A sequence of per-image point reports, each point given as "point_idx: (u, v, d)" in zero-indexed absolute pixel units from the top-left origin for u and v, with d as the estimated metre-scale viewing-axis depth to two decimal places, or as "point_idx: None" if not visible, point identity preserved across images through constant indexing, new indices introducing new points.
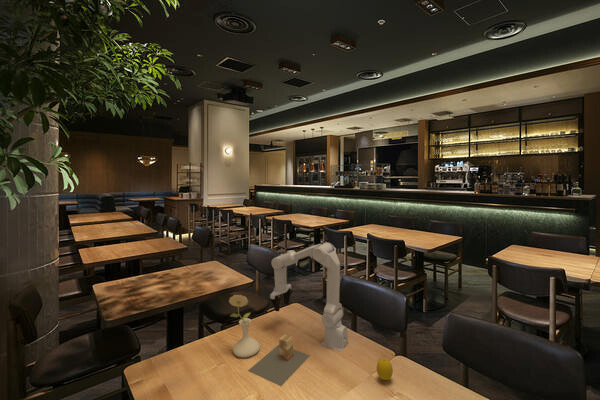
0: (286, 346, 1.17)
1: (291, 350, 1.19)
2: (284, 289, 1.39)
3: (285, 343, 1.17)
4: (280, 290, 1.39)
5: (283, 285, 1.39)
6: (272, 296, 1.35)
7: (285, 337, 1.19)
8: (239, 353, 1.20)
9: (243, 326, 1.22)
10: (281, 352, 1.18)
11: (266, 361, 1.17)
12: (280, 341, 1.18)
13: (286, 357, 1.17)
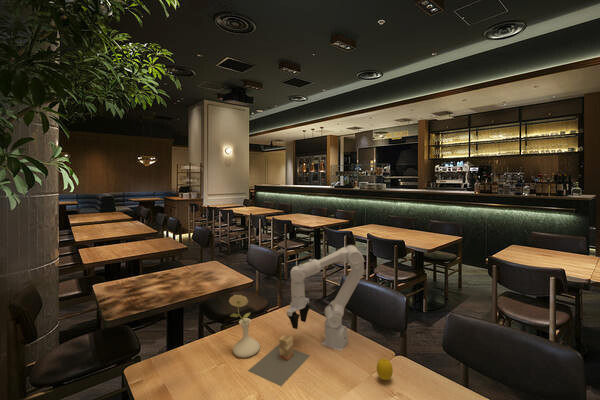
0: (286, 346, 1.17)
1: (291, 350, 1.19)
2: (302, 304, 1.24)
3: (285, 343, 1.17)
4: (298, 306, 1.23)
5: (301, 300, 1.24)
6: (289, 313, 1.20)
7: (285, 337, 1.19)
8: (239, 353, 1.20)
9: (243, 326, 1.22)
10: (281, 352, 1.18)
11: (266, 361, 1.17)
12: (280, 341, 1.18)
13: (286, 357, 1.17)
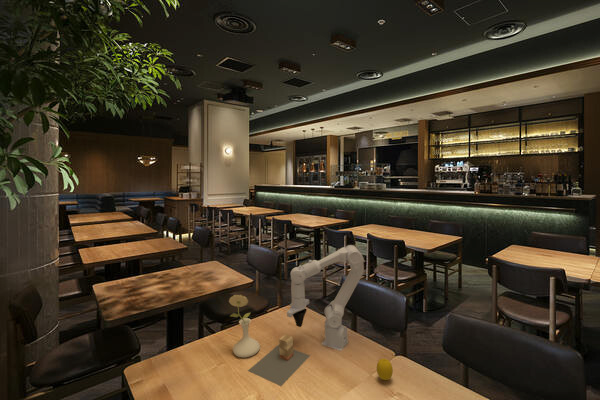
0: (286, 346, 1.17)
1: (291, 350, 1.19)
2: (302, 306, 1.24)
3: (285, 343, 1.17)
4: (298, 307, 1.23)
5: (301, 301, 1.24)
6: (289, 314, 1.20)
7: (285, 337, 1.19)
8: (239, 353, 1.20)
9: (243, 326, 1.22)
10: (281, 352, 1.18)
11: (266, 361, 1.17)
12: (280, 341, 1.18)
13: (286, 357, 1.17)
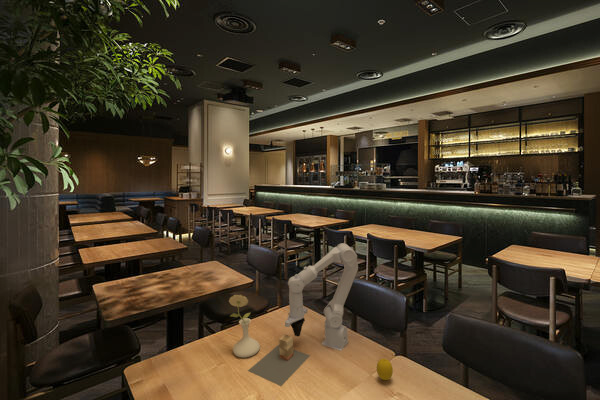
0: (286, 346, 1.17)
1: (291, 350, 1.19)
2: (300, 315, 1.23)
3: (285, 343, 1.17)
4: (296, 316, 1.22)
5: (299, 311, 1.23)
6: (287, 324, 1.19)
7: (285, 337, 1.19)
8: (239, 353, 1.20)
9: (243, 326, 1.22)
10: (281, 352, 1.18)
11: (266, 361, 1.17)
12: (280, 341, 1.18)
13: (286, 357, 1.17)
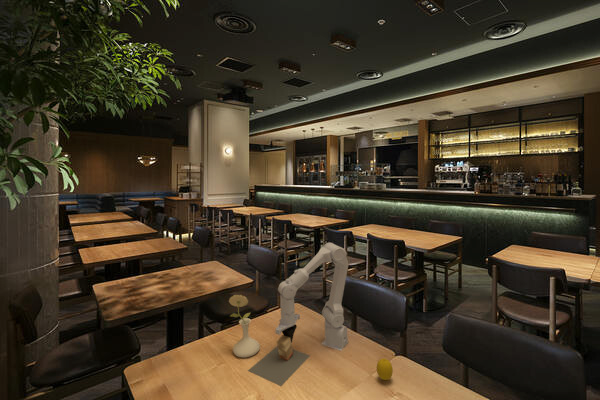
0: (284, 348, 1.16)
1: (289, 350, 1.18)
2: (292, 322, 1.18)
3: (283, 345, 1.15)
4: (287, 323, 1.17)
5: (291, 317, 1.17)
6: (278, 331, 1.14)
7: (283, 338, 1.18)
8: (239, 353, 1.20)
9: (243, 326, 1.22)
10: (280, 353, 1.18)
11: (266, 361, 1.17)
12: (278, 343, 1.17)
13: (286, 357, 1.17)
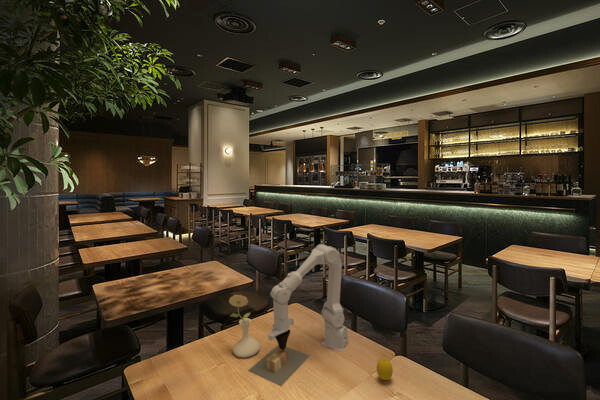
0: None
1: (283, 359, 1.14)
2: (285, 327, 1.14)
3: None
4: (280, 328, 1.13)
5: (284, 322, 1.14)
6: (271, 337, 1.10)
7: (270, 365, 1.11)
8: (239, 353, 1.20)
9: (243, 326, 1.22)
10: None
11: (266, 361, 1.17)
12: None
13: None
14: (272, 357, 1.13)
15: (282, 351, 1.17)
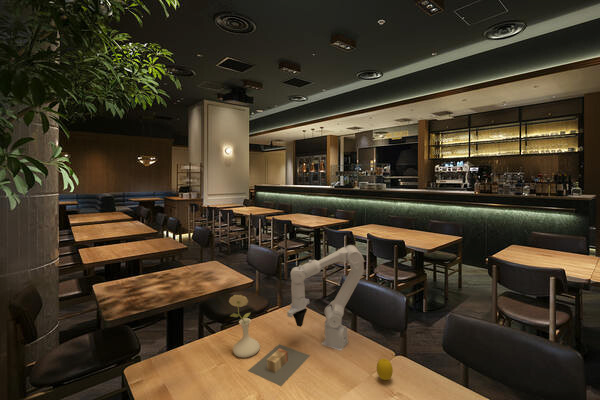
0: None
1: (283, 359, 1.14)
2: (302, 305, 1.24)
3: None
4: (298, 306, 1.23)
5: (301, 301, 1.24)
6: (290, 314, 1.20)
7: (270, 365, 1.11)
8: (239, 353, 1.20)
9: (243, 326, 1.22)
10: None
11: (266, 361, 1.17)
12: None
13: None
14: (272, 357, 1.13)
15: (282, 351, 1.17)
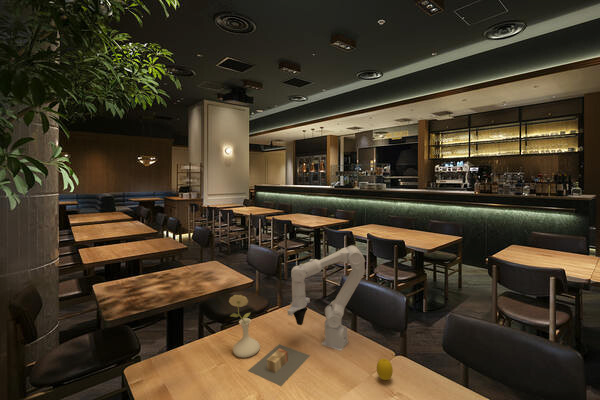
0: None
1: (283, 359, 1.14)
2: (303, 304, 1.24)
3: None
4: (298, 305, 1.24)
5: (302, 299, 1.24)
6: (290, 312, 1.21)
7: (270, 365, 1.11)
8: (239, 353, 1.20)
9: (243, 326, 1.22)
10: None
11: (266, 361, 1.17)
12: None
13: None
14: (272, 357, 1.13)
15: (282, 351, 1.17)
